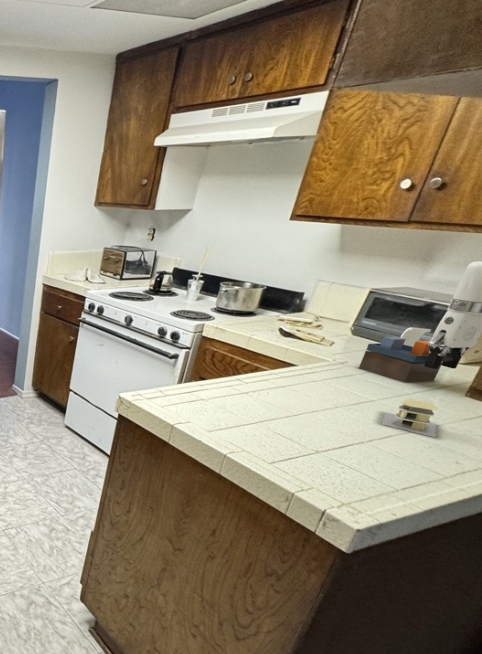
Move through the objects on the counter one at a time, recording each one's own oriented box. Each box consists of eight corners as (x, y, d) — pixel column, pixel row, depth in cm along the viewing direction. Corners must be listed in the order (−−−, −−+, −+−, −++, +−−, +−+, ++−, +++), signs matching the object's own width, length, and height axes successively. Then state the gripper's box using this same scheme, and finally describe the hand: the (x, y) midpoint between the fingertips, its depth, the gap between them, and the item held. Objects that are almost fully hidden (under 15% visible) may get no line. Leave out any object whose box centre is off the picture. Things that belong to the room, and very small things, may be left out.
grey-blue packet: (399, 352, 148) (405, 338, 146) (388, 353, 147) (394, 339, 145) (389, 349, 150) (395, 336, 149) (377, 350, 150) (383, 336, 148)
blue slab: (459, 365, 138) (463, 356, 137) (428, 366, 137) (432, 357, 136) (394, 348, 154) (397, 340, 153) (366, 349, 152) (369, 341, 151)
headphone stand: (397, 361, 162) (412, 327, 157) (391, 357, 167) (405, 324, 162) (415, 363, 160) (431, 329, 155) (408, 359, 165) (424, 326, 160)
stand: (433, 380, 144) (442, 362, 142) (404, 382, 142) (412, 363, 140) (386, 366, 156) (393, 349, 154) (358, 368, 154) (365, 350, 152)
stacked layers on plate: (385, 413, 120) (394, 393, 118) (435, 425, 114) (446, 404, 112) (381, 424, 114) (391, 403, 112) (435, 437, 108) (446, 416, 106)
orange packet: (432, 357, 143) (438, 343, 142) (420, 358, 143) (427, 343, 141) (420, 354, 146) (427, 340, 144) (409, 355, 145) (415, 341, 144)
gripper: (461, 310, 127) (431, 372, 134) (511, 309, 129) (478, 370, 136) (428, 304, 134) (401, 364, 141) (476, 303, 136) (447, 362, 143)
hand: (439, 366), depth 138 cm, fingers closed on blue slab, 5 cm apart
